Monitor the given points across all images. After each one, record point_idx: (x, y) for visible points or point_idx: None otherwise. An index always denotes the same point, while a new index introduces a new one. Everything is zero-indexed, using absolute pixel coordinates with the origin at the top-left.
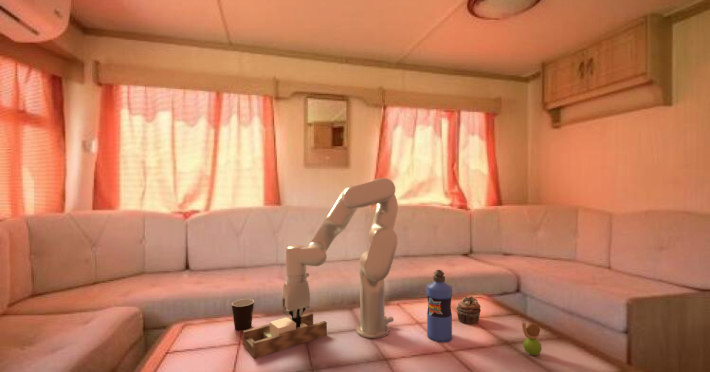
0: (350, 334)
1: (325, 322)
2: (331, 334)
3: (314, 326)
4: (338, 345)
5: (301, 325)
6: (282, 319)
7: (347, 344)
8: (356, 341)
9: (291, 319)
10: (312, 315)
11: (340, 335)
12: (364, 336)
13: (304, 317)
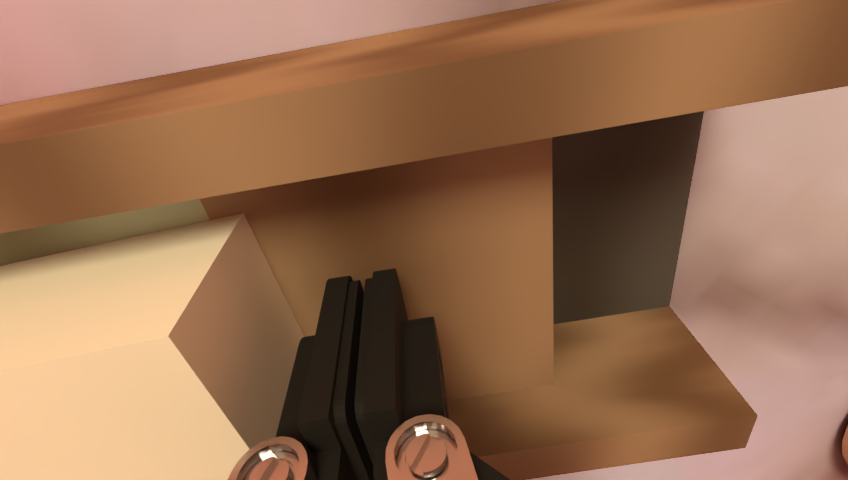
0: (818, 381)
1: (728, 447)
2: (703, 328)
3: (559, 467)
4: (617, 466)
5: (478, 233)
6: (66, 403)
7: (673, 472)
8: (750, 463)
9: (324, 166)
10: (837, 72)
11: (745, 368)
12: (844, 454)
13: (634, 110)
